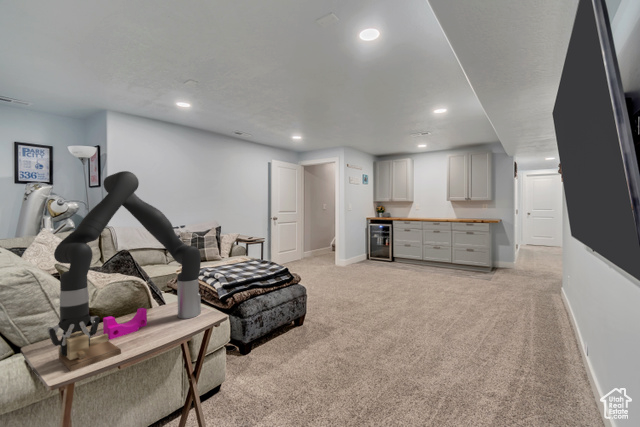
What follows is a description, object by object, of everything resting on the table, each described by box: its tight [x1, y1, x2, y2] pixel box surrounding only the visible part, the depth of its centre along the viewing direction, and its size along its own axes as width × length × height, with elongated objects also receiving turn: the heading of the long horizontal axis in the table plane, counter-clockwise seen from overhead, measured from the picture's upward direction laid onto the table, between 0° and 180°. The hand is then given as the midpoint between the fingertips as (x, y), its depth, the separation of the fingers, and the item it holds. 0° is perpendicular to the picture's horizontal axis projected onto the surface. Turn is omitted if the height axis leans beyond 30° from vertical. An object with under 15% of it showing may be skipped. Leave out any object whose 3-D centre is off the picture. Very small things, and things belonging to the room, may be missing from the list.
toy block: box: [102, 307, 148, 341], centre depth 124 cm, size 15×6×8 cm, turn 146°
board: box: [58, 333, 122, 372], centre depth 103 cm, size 14×13×4 cm
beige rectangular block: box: [66, 331, 89, 360], centre depth 99 cm, size 5×11×6 cm, turn 54°
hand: (75, 351), depth 100 cm, fingers closed on beige rectangular block, 5 cm apart
